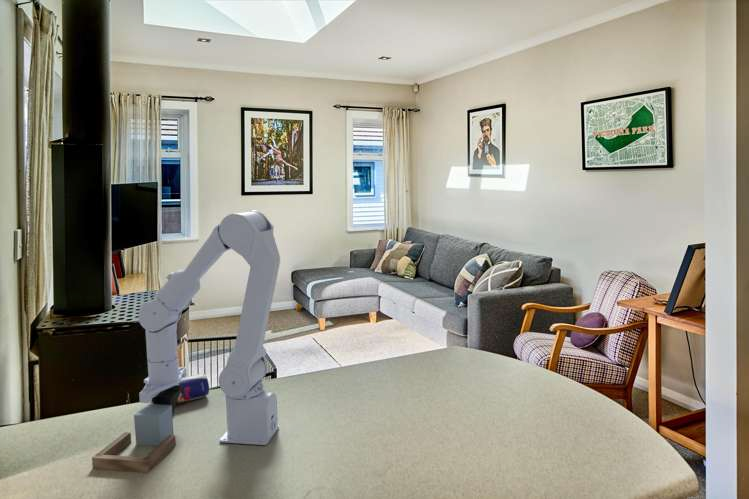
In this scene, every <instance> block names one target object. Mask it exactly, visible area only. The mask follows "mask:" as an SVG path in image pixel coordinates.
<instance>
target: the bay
mask: <svg viewBox="0 0 749 499" xmlns="http://www.w3.org/2000/svg"><path fill="white" fill-rule="evenodd" d="M176 442H177V441H176V435H175V434H173V435H169V436H168V437H167V438H166V439H164V440H163V441H162V442H161V443H160V444H159V445H158V446H155V447H154V448H153V449H152V451H150V452H149V453H148V454H147V455H145V457H139V456H126V455H124V456H123V455H118V454H119V453H121V451H123V450H124V449H125V448H126V447H127V446H129V445H131V443H132V432H129V431H127V432H125V431H124V432H123V433H122V434H120V436H118V437H117V438H115V439H114V440H113V441H112V442H110V443H109V444H108V445H107V446H105V447H104V448H103V449H101V450H100V451H99V452H97V453H96V454H94V455H93V456H92V457H91V461H92V462H91V464H92V469H99V470H111V471H124V472H135V473H136V472H138V473H149V471H151V470H152V469H153V468H154V467H155V466H156V465H157V464H158V463H159V462H160V461H161V460H162V459H163V458H165V456H166V455H168V453H170V452H171V451H172V449H174V448H175V447H176V445H177V444H176Z"/></svg>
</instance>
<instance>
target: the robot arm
mask: <svg viewBox="0 0 749 499" xmlns="http://www.w3.org/2000/svg"><path fill="white" fill-rule="evenodd" d="M229 250H233V251H234V252H235V253H236V254H238V255H240V256H241V257H242V258H243V259H244V260H245V262H247V264H248V265H249V272H248V276H247V277H248V278H247V282H246V288H245V293H244V297H243V304H242V309H241V313H240V319H239V323H238V324H239V325H238V329H237V333H236V339H235V343H234V344H235V345H234V346H233V348H232V350H231V352H230V354H229V355H228V357H227V361H226V364H225V367H224V368H223V370H221V372H220V373H219V376H218V384H219V385H218V386H219V387H220V389H221V391H222V393H224V394H225V406H226V428H227V429H226V430H227V431H225V433H224V434H223V435H222V436H221V437H219V442H220V443H226V444H227V443H228V444H229V443H230V444H241V445H243V444H244V445H256V446H257V445H258V446H266V445H267V444H268V443H269V442H270V440H271V439H272V438H273V436H274V435H275V434H276V432H277V431H278V429H279V428H280V425H279V423H278V420H279V419H278V418H279V417H278V399H277V395H276V393H274V392H270V391H268V390H265V389H264V384H263V378H265V376H266V374H267V371H268V364H267V359H266V354H267V350H266V348H265V346H264V342H265V336H266V332H267V327H268V323H269V317H270V312H271V307H272V303H273V298H274V293H275V288H276V284H277V278H278V274H279V270H280V265H281V256H280V252H279V249H278V245H277V242H276V238H275V236H274V224H272V223H271V221H270V220H269V219H268V217H267V216H266V215H265V214H264V213H262V212H260V211H258V210H254V209H253V210H249V211H248V210H247V211H246V212H239V213H231V214H230V213H229V214H228V215H226V216H225V217H224V218H222V220H221V221H220V224H217V225H216V226H215V227H213V229H212V232H211V233H210V235H209V236H208V237H207V239H206V240H205V242H204V243H203V244H202V246H201V247H200V249H199V250H198V252H196V254H195V256H194V257H193V258H192V259H191V261H190V262H189V264H188V265H187V267H186V268H185V269H179V270H178V269H177V270H175V271H174V272H170V273H168V274H167V276H166V277H165V278H166V279H167V281H166V283H164V285H163V286H162V287H161V288H160V289H159V290H158V291H157V290H156V291H155V292H154V293H153V294H152V296H153V301H151V300H150V301H147V302H145V303H142V305H141V306H140V309H139V311H138V314H137V315H138V316H137V317H138V322H139V324H140V325H141V327H142V328H143V329H145V342H146V343H145V344H146V358H147V372H148V376H147V377H146V378H145V379H143V384H145V385H144V387H143V389H142V390H141V391H140V392H139V393H138V395H139V403H140V404H142V403H143V404H151V403H150V402H151V401H152V403H153V404H157V405H172V417H173V418H174V416H175V410H176V407H177V404H176V403H177V400H178V397H179V395H180V393H181V391H182V386H180V385H177V384H179V383H180V381H181V378H184V377H188V376H187V374H188V372H187V367H186V366H179V353H178V352H179V351H178V335H177V332H178V331H177V330H178V322H179V320H180V319H181V317H182V314H183V313H182V312H183V310H184V309H185V307H186V306H187V305H188V304H190V301H191V300H192V299H193V298H194V297H195V295H197V294H198V292H199V291H200V289H201V281H200V280H201V279H202V278H203V276H204V275H205V274H207V272H208V271H209V270H210V268H211V267H212V266H213V265H215V263H216V262H217V261H218V260H219V259H220V258H221V256H223V254H225V252H227V251H229Z"/></svg>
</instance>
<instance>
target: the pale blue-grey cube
mask: <svg viewBox="0 0 749 499" xmlns="http://www.w3.org/2000/svg"><path fill="white" fill-rule="evenodd" d="M133 420H134V423H133V424H134V435H135V444H136V446H152V447H157V446H158V445H159V444H160V443H161V442H162V441H163V440H164V439H166V438H167V437H168V436H169V435H175V434H174V421H173V420H174V416H173V417H172V405H157V404H151V403H146V405H145V406H143V407H142V408H141V409H139V410H138V411H137V412H136V413H135V414H133Z"/></svg>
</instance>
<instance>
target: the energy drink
mask: <svg viewBox="0 0 749 499" xmlns="http://www.w3.org/2000/svg"><path fill="white" fill-rule="evenodd" d="M177 385H180V386H182V391H181V393H180V395H179V397H178V400H177V403H176V405H177V404H178V405H179V404H182V403H186V402H190V401H193V400H196V399H201V398H204V397H206V396H208V395H209V394H210V384H209V380H208V377H207V375H206V374H205V373H198V374H193V375H190V376H186V377H182V378H181V381H180V383H179V384H177ZM149 404H153V403H152V401H151V402H150V403H149Z"/></svg>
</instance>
